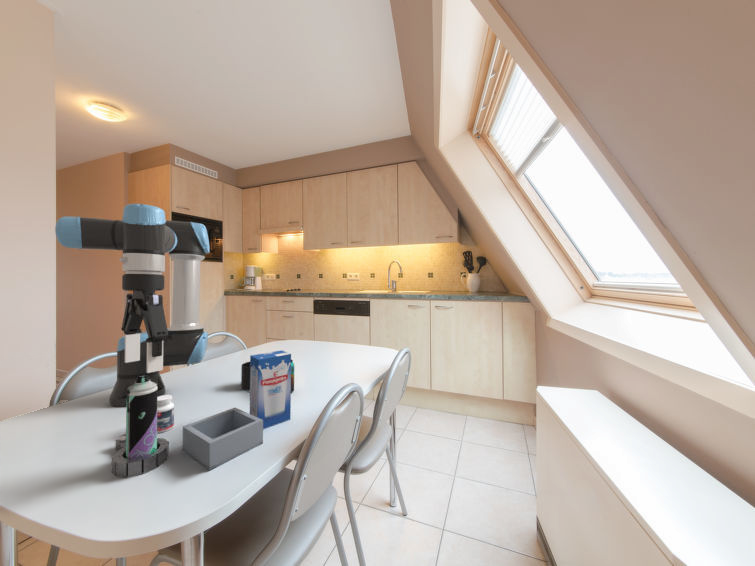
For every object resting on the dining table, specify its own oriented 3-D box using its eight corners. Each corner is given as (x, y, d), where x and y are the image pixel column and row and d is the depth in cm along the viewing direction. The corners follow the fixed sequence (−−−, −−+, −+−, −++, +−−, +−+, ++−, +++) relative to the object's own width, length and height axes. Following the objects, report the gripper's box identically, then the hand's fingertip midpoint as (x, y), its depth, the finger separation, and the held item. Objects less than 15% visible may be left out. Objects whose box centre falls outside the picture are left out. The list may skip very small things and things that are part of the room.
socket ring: (96, 454, 68) (96, 442, 68) (146, 436, 76) (147, 425, 76) (120, 483, 59) (121, 469, 59) (175, 459, 67) (175, 446, 67)
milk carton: (281, 412, 91) (282, 350, 91) (290, 419, 87) (291, 353, 87) (249, 423, 84) (250, 355, 84) (257, 431, 80) (258, 359, 80)
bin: (182, 450, 70) (182, 426, 70) (234, 428, 81) (234, 407, 81) (209, 470, 63) (210, 443, 63) (262, 443, 74) (263, 420, 74)
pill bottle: (148, 435, 77) (148, 402, 77) (153, 426, 82) (153, 395, 82) (172, 431, 80) (172, 399, 80) (175, 422, 84) (175, 392, 84)
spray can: (139, 472, 62) (140, 380, 62) (119, 468, 63) (120, 378, 63) (162, 457, 68) (163, 372, 68) (143, 454, 69) (144, 371, 69)
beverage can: (275, 397, 104) (275, 364, 104) (274, 390, 110) (274, 359, 110) (295, 394, 106) (295, 362, 106) (292, 388, 113) (293, 357, 113)
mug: (247, 394, 106) (247, 370, 106) (238, 385, 115) (238, 363, 115) (272, 388, 112) (273, 365, 112) (262, 380, 121) (262, 359, 121)
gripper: (105, 273, 69) (104, 361, 69) (144, 271, 56) (143, 381, 55) (143, 274, 76) (142, 354, 75) (187, 273, 62) (186, 371, 62)
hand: (143, 366), depth 65 cm, fingers open, 13 cm apart
